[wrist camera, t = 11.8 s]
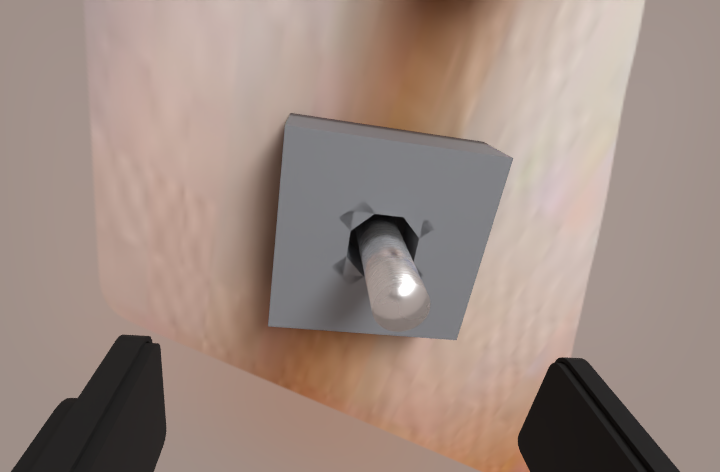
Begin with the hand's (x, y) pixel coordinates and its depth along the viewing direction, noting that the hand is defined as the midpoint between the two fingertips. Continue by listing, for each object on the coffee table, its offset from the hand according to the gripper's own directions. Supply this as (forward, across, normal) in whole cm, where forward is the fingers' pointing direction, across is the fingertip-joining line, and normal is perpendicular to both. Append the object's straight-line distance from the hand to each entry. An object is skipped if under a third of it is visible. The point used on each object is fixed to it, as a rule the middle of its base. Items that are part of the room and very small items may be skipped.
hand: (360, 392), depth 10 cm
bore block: (+22, -4, +4) cm, 22 cm away
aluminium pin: (+21, -4, +4) cm, 21 cm away
